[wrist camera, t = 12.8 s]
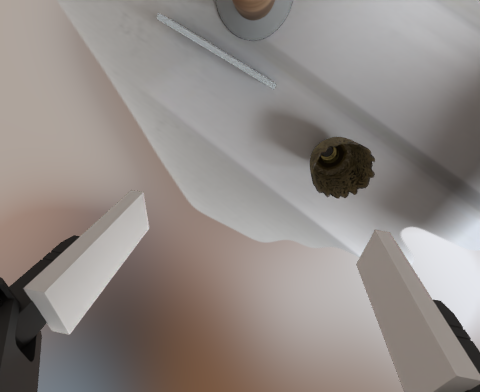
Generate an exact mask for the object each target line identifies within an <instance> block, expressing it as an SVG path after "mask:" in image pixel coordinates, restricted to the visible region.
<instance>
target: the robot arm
mask: <svg viewBox="0 0 480 392" xmlns="http://www.w3.org/2000/svg"><path fill="white" fill-rule="evenodd" d="M148 229H149V224H148V217H147V211H146V204H145V198H144V192H140V191H133V190H131V191H130V192H129V193H128V194H126V195H125V196H124V197H123V198H122V199H121V200H120V201H119V202H117V204H115V205H114V206H113V207H112V208H111V209H110V210H109V211H108V212H107V213H105V215H103V216H102V217H101V218H100V219H99V220H98V221H97V222H96V223H94V224H93V225H92V226H91V227H90V228H89V229H88V230H87V231H86V232H85V233H83V234H82V235H81V236H72V237H70V238H68V239H66V240H65V241H63V242H61V243H60V244H59V245H58V246H56V247H55V248H54V249H53V250H52V251H51V253H48V254H47V255H46V256H45V257H44V258H43V260H40V261H39V262H38V263H37V264H35V265H34V266H33V267H32V268H31V269H30V270H28V271H27V272H26V273H25V274H24V275H23V276H22V277H20V278H19V279H18V280H17V281H16V282H15V283H13V284H12V285H11V286H10V287H8V286H7V284H6V283H5V281H4V280H3V279H2V278H0V392H37V388H38V376H39V364H40V352H41V339H42V335H41V331H40V330H41V329H42V328H43V327H44V325H45V324H46V323H47V324H48V326H49V327H50V329H51V330H52V331H55V332H60V333H64V334H70V333H71V332H72V331H73V329H74V328H75V327H76V325H77V324H78V323H79V321H80V320H81V319H82V317H83V316H84V315H85V313H86V312H87V311H88V309H89V308H90V307H91V305H92V304H93V302H94V301H95V300H96V299H97V297H98V296H99V295H100V293H101V292H102V291H103V289H104V288H105V287H106V285H107V284H108V283H109V281H110V280H111V279H112V277H113V276H114V275H115V273H116V272H117V271H118V269H119V268H120V267H121V265H122V264H123V263H124V261H125V260H126V259H127V257H128V256H129V255H130V253H131V252H132V251H133V249H134V248H135V247H136V245H137V244H138V243H139V241H140V240H141V239H142V237H143V236H144V235H145V233H146V232H147V231H148ZM356 265H357V268H358V270H359V273H360V275H361V278H362V281H363V284H364V286H365V289H366V292H367V294H368V297H369V300H370V302H371V305H372V308H373V310H374V313H375V316H376V318H377V321H378V324H379V326H380V329H381V332H382V334H383V337H384V340H385V342H386V345H387V348H388V350H389V353H390V355H391V358H392V361H393V364H394V366H395V369H396V372H397V374H398V377H399V379H400V382H401V385H402V387H403V390H404V392H480V352H479V350H478V349H477V347H476V346H475V344H474V343H473V342H472V341H471V340H470V337H469V335H468V334H467V333H466V331H465V330H463V327H462V325H461V324H460V322H459V321H458V319H457V318H456V317H455V315H454V313H452V312H451V311H450V310H449V309H448V308H447V307H446V306H445V305H444V304H443V303H442V302H441V301H438V300H432V298H431V297H430V295H429V293H428V292H427V290H426V289H425V287H424V286H423V284H422V282H421V281H420V279H419V278H418V276H417V274H416V273H415V271H414V270H413V268H412V267H411V265H410V263H409V262H408V260H407V259H406V257H405V255H404V254H403V252H402V251H401V249H400V248H399V246H398V244H397V243H396V241H395V240H394V238H393V237H392V235H391V233H390V232H385V231H379V230H375V231H374V233H373V235H372V237H371V238H370V240H369V242H368V244H367V246H366V248H365V249H364V251H363V253H362V255H361V257H360V258H359V260H358V262H357V264H356Z"/></svg>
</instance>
